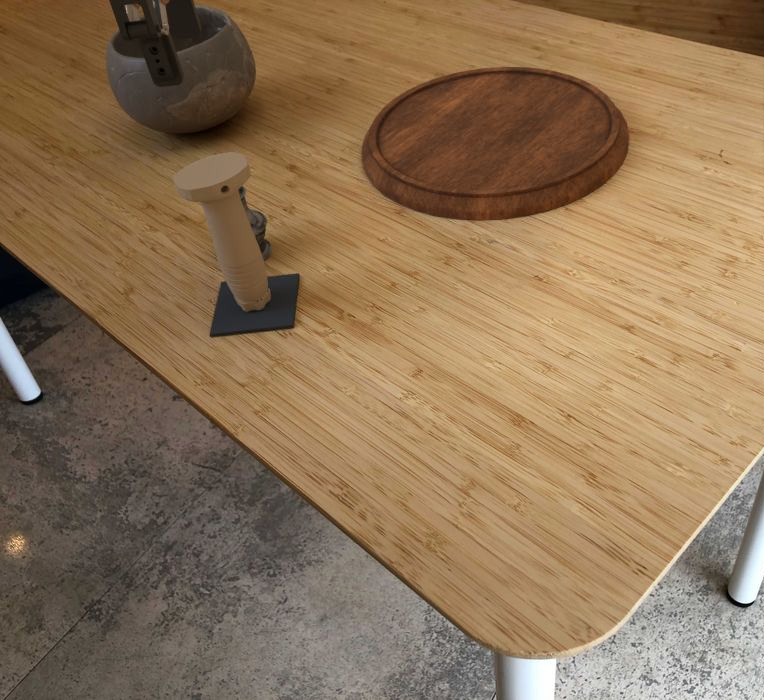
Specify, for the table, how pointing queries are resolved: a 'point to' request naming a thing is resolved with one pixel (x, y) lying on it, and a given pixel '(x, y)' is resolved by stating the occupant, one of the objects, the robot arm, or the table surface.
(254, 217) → the grey stone chess piece
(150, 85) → the bowl
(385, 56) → the table surface
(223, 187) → the handle
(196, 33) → the robot arm
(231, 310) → the place mat
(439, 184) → the cutting board
